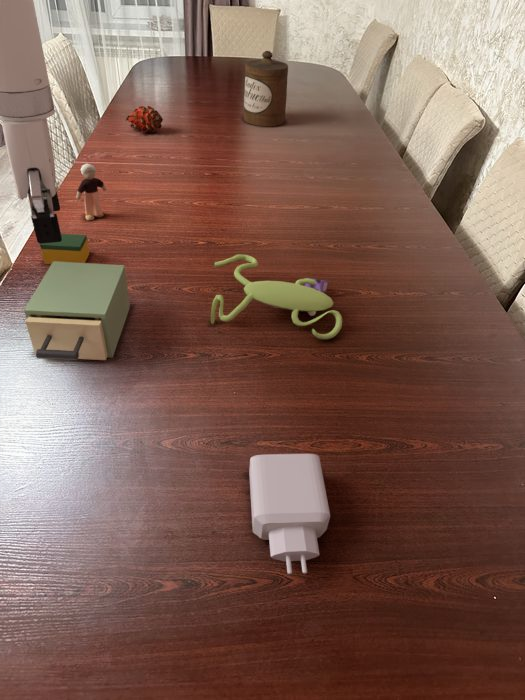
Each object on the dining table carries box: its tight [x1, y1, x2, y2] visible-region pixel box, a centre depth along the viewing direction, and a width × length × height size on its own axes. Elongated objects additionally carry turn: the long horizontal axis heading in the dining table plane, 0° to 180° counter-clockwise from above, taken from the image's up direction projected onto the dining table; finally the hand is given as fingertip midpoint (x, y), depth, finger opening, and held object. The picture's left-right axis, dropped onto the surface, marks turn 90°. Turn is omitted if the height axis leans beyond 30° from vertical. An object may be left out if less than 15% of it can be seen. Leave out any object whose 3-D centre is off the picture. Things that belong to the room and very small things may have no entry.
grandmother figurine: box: [75, 162, 107, 221], centre depth 121 cm, size 8×4×13 cm, turn 147°
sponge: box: [39, 233, 90, 265], centre depth 108 cm, size 8×5×4 cm, turn 90°
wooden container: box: [243, 50, 289, 127], centre depth 181 cm, size 15×15×22 cm
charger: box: [248, 453, 331, 575], centre depth 64 cm, size 5×9×15 cm
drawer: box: [25, 315, 108, 361], centre depth 86 cm, size 18×11×7 cm, turn 0°
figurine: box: [210, 253, 343, 341], centre depth 100 cm, size 18×27×6 cm
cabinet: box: [23, 261, 131, 359], centre depth 90 cm, size 15×13×9 cm
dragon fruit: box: [125, 105, 164, 134], centre depth 169 cm, size 8×8×12 cm
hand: (49, 225), depth 76 cm, fingers open, 9 cm apart
